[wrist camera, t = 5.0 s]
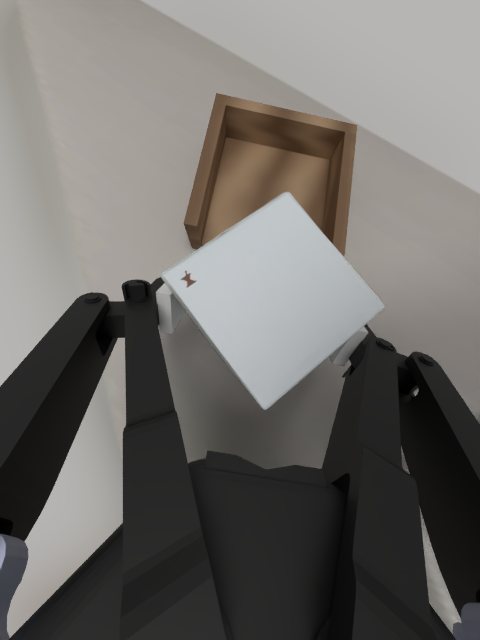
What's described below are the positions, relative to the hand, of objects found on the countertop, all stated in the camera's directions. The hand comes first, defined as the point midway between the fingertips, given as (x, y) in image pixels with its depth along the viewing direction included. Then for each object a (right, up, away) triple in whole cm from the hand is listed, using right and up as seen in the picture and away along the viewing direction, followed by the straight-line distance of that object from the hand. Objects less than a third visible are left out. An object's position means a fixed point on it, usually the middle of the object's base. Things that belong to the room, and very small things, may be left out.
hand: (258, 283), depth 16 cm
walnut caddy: (+2, +11, +7) cm, 13 cm away
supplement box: (-1, -4, +5) cm, 6 cm away
